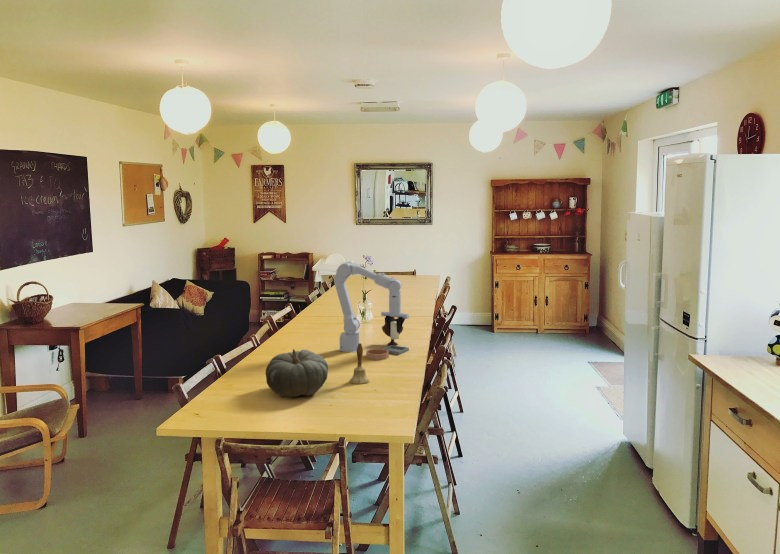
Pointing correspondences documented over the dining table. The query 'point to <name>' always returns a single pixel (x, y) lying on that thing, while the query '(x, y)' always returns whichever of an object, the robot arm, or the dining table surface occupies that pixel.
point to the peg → (394, 330)
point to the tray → (396, 349)
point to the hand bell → (359, 369)
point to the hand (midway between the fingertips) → (394, 331)
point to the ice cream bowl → (386, 331)
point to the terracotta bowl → (377, 354)
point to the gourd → (296, 373)
